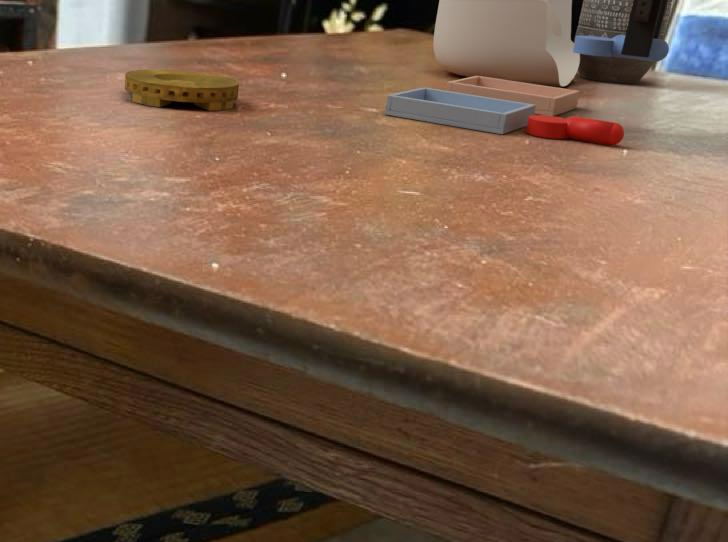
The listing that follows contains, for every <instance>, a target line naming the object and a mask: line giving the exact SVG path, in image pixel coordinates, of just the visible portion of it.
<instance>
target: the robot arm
mask: <svg viewBox="0 0 728 542" xmlns="http://www.w3.org/2000/svg"><path fill="white" fill-rule="evenodd" d="M667 3H668V0H634V1H633V5H632V10H631V14H630V18H629V22H628V27H627V31H626V35H625V39H624V44H623V48H622V52H621V54H622V55H630V56H639V57H649V53H650V49H651V45H652V41H653V39H659V35H660V31H661V27H662V23H663V19H664V15H665V11H666V7H667Z"/></svg>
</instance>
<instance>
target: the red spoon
mask: <svg viewBox="0 0 728 542" xmlns="http://www.w3.org/2000/svg"><path fill="white" fill-rule="evenodd" d="M525 133H526V134H527V135H530V136H534V137H538V138H543V139H544V138H545V139H550V140H551V139H554V140H565V139H568V140H569V139H570V140H574V141H575V140H576V141H581V142H585V143H586V142H587V143H593V144H598V145H605V146H616V145H618V144H619V143H621V141H622V140H623V139H624V136H625V129H624V127H623V126H622V125H621V124H620V123H617V122H615V121H614V122H613V121H608V120H607V121H606V120H601V119H594V118H587V117H581V116H570V117H568V118H565V117H560V116H546V115H539V114H534V115H531V116H529V118H528V123H527V126H526V128H525Z"/></svg>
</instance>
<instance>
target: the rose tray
mask: <svg viewBox="0 0 728 542" xmlns="http://www.w3.org/2000/svg"><path fill="white" fill-rule="evenodd" d="M445 91H450V92H456V93H463V94H469V95H476V96H482V97H489V98H495V99H501V100H508V101H514V102H521V103H527V104H533V105H536V108H535V112H534V115H546V116H554V117H556V116H558V115H561V114H563V113H566V112H569V111H572V110H575V109H577V105H578V102H579V97H580V93H581V91H580V90H576V89H569V88H564V87H563V88H562V87H557V86H549V85H536V84H529V83H523V82H516V81H509V80H502V79H496V78H489V77H482V76H473V77H465V78H459V79H455V80H450V81H447V83H446V88H445Z"/></svg>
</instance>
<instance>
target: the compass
mask: <svg viewBox="0 0 728 542" xmlns="http://www.w3.org/2000/svg"><path fill="white" fill-rule="evenodd" d="M239 89H240V82H239V81H238V80H237V79H234V78H231V77H227V76H223V75H218V74H213V73H207V72H206V73H205V72H199V71H191V70H190V71H188V70H178V69H177V70H176V69H138V70H131V71H127V72H126V73H125V75H124V90H125V91H126V92H129V93H130V94H132V97H131V102H133V103H137V104H141V105H145V106H149V107H156V108H162V107H165V106H167V105H168V106H169V105H171V103H172V102H182V103H193V104H194V106H196V107H197V108H198V107H199V108H201V109H204V110H206V111H225V110H231V109H234V101H235V100H238V98H239Z"/></svg>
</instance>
